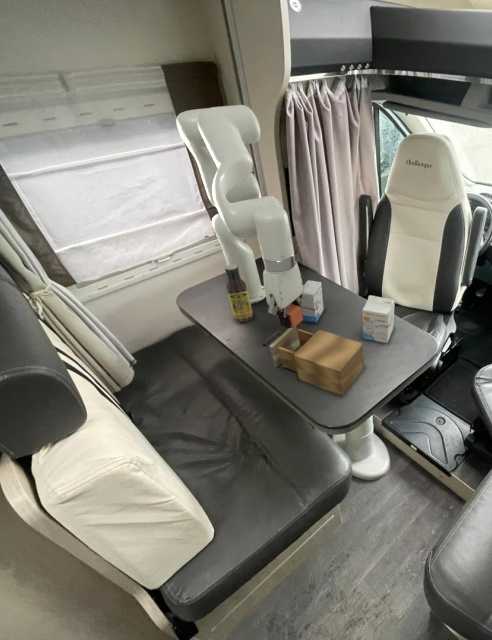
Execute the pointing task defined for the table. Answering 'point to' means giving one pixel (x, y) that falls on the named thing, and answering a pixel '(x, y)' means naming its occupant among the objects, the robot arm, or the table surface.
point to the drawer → (287, 346)
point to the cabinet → (329, 361)
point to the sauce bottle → (238, 294)
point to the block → (294, 314)
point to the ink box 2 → (378, 319)
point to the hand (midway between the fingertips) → (291, 320)
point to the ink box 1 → (312, 301)
